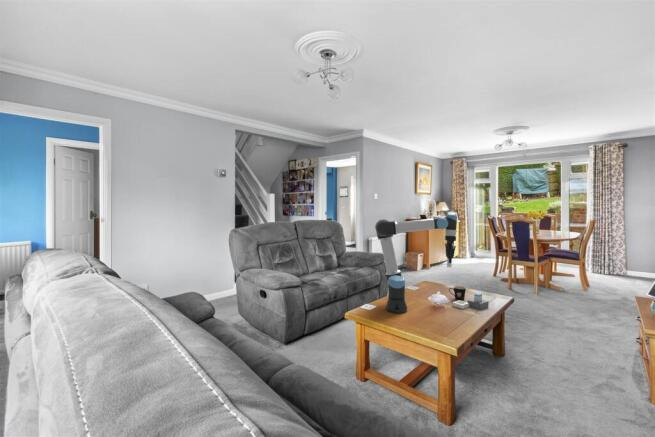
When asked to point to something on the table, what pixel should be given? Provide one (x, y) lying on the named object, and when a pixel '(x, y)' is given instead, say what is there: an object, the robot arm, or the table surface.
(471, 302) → the port block
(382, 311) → the table surface
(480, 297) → the plug
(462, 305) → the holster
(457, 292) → the coffee mug
